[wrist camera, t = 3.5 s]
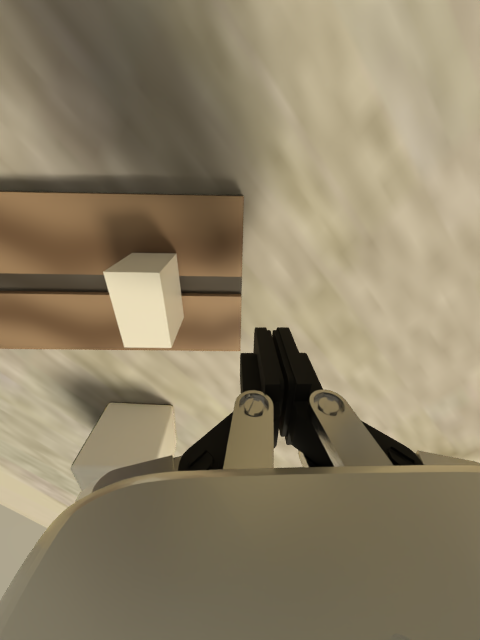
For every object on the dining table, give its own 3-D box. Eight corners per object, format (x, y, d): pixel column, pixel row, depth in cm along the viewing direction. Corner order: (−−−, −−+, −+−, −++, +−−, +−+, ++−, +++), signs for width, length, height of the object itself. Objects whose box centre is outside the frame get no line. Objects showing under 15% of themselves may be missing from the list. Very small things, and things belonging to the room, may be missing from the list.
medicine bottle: (108, 400, 26) (21, 546, 16) (173, 403, 26) (131, 548, 16) (119, 440, 30) (55, 579, 19) (177, 442, 30) (144, 581, 19)
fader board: (-181, 187, 16) (-224, 188, 14) (243, 195, 16) (243, 196, 14) (-66, 337, 22) (-88, 349, 20) (240, 341, 22) (240, 352, 21)
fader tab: (134, 251, 16) (103, 271, 13) (178, 251, 17) (159, 272, 13) (147, 313, 19) (124, 347, 15) (185, 314, 19) (171, 348, 15)
